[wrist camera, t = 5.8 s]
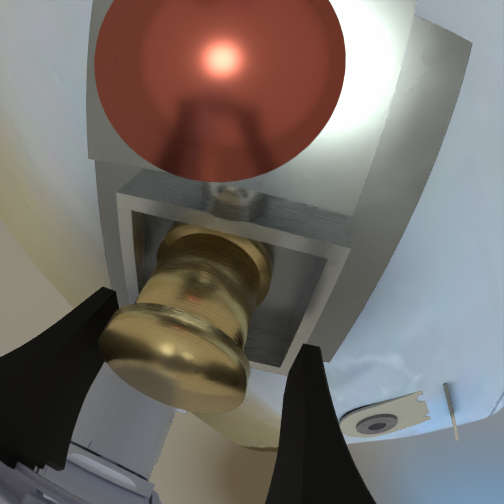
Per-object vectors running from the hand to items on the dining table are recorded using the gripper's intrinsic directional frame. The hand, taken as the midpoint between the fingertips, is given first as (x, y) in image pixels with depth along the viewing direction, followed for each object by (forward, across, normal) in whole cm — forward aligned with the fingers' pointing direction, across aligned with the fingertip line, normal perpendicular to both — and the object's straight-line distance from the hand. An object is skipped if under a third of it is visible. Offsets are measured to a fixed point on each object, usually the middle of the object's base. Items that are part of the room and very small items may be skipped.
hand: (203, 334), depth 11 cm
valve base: (+4, 0, -4) cm, 6 cm away
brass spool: (+4, 0, 0) cm, 4 cm away
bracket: (+5, -16, +12) cm, 21 cm away
